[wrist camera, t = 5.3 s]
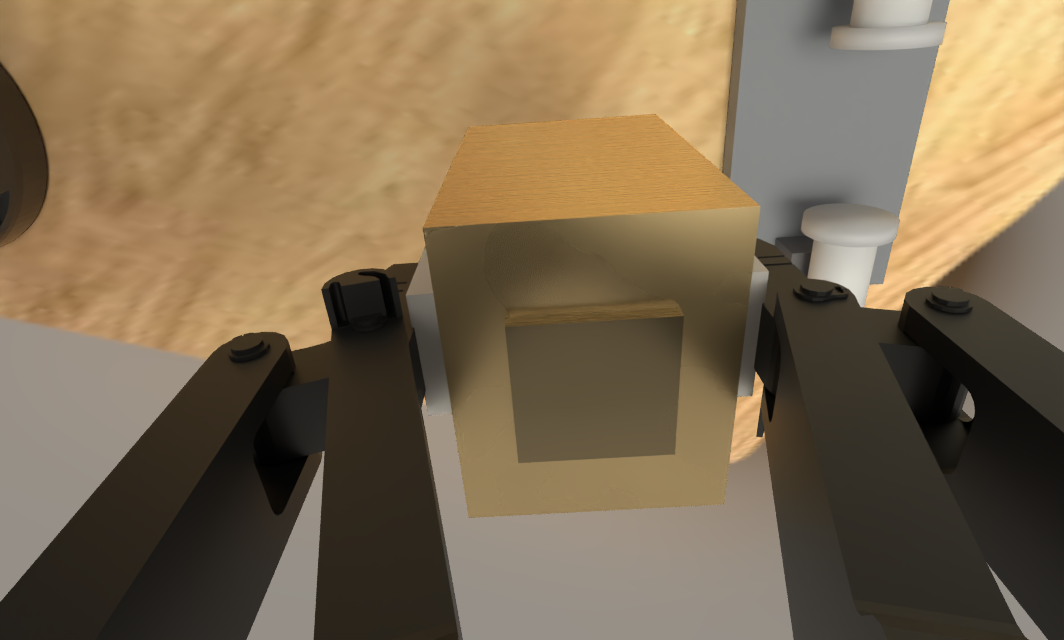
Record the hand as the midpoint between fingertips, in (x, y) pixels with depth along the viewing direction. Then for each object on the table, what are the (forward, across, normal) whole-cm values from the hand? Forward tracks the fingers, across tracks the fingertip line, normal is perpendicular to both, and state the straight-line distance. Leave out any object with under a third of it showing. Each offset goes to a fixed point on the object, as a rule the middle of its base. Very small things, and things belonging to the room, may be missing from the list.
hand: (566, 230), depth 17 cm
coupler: (0, 0, 0) cm, 0 cm away
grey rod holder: (+18, +15, -1) cm, 24 cm away
